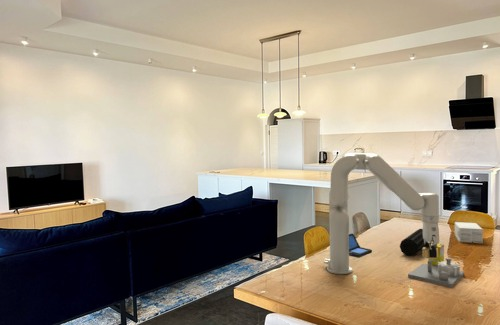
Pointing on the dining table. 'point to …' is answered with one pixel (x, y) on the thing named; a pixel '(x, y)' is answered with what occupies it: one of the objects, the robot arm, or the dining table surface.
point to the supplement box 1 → (440, 255)
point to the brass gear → (426, 253)
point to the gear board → (438, 273)
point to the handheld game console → (356, 247)
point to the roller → (413, 243)
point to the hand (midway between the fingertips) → (430, 254)
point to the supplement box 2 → (468, 232)
